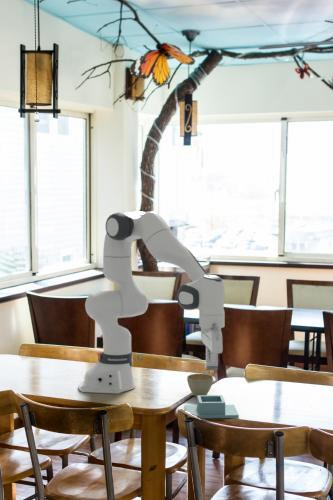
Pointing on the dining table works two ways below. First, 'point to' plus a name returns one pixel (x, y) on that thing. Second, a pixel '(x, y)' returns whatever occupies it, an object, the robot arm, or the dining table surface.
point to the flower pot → (199, 383)
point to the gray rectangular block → (209, 364)
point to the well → (212, 407)
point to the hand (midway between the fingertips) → (211, 360)
